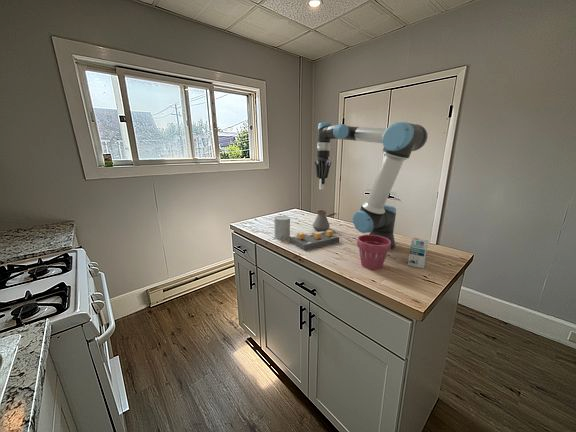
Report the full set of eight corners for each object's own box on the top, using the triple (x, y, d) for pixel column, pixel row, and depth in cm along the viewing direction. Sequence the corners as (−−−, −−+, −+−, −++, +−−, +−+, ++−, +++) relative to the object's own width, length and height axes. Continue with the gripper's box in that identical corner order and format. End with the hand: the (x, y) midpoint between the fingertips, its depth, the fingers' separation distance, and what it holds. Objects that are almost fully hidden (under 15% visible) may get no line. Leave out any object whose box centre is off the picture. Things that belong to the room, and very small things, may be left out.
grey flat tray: (339, 242, 138) (339, 236, 137) (304, 250, 125) (304, 244, 124) (323, 235, 149) (323, 230, 148) (290, 242, 137) (290, 237, 136)
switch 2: (321, 238, 134) (321, 233, 133) (316, 239, 132) (317, 234, 132) (317, 236, 136) (317, 231, 136) (313, 237, 135) (313, 232, 134)
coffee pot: (309, 228, 163) (310, 207, 159) (323, 226, 168) (324, 205, 164) (327, 238, 144) (328, 214, 141) (342, 235, 149) (344, 212, 146)
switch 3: (332, 235, 138) (333, 231, 137) (328, 236, 137) (329, 231, 136) (329, 234, 141) (329, 229, 140) (325, 235, 139) (325, 230, 138)
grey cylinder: (271, 238, 142) (271, 218, 139) (278, 233, 151) (278, 215, 148) (286, 240, 139) (286, 220, 136) (292, 235, 148) (292, 216, 145)
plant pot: (348, 262, 111) (350, 237, 108) (369, 256, 118) (372, 232, 115) (372, 275, 99) (376, 247, 96) (394, 268, 106) (398, 241, 103)
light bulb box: (423, 269, 106) (427, 246, 103) (407, 265, 109) (410, 243, 107) (425, 260, 115) (428, 239, 112) (409, 257, 118) (412, 237, 115)
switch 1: (304, 238, 133) (304, 233, 132) (300, 239, 132) (300, 234, 131) (301, 236, 136) (301, 232, 135) (297, 237, 134) (297, 232, 133)
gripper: (311, 150, 146) (310, 188, 151) (325, 149, 135) (323, 191, 141) (321, 150, 149) (319, 187, 155) (335, 150, 139) (333, 190, 144)
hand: (321, 189), depth 148 cm, fingers closed
